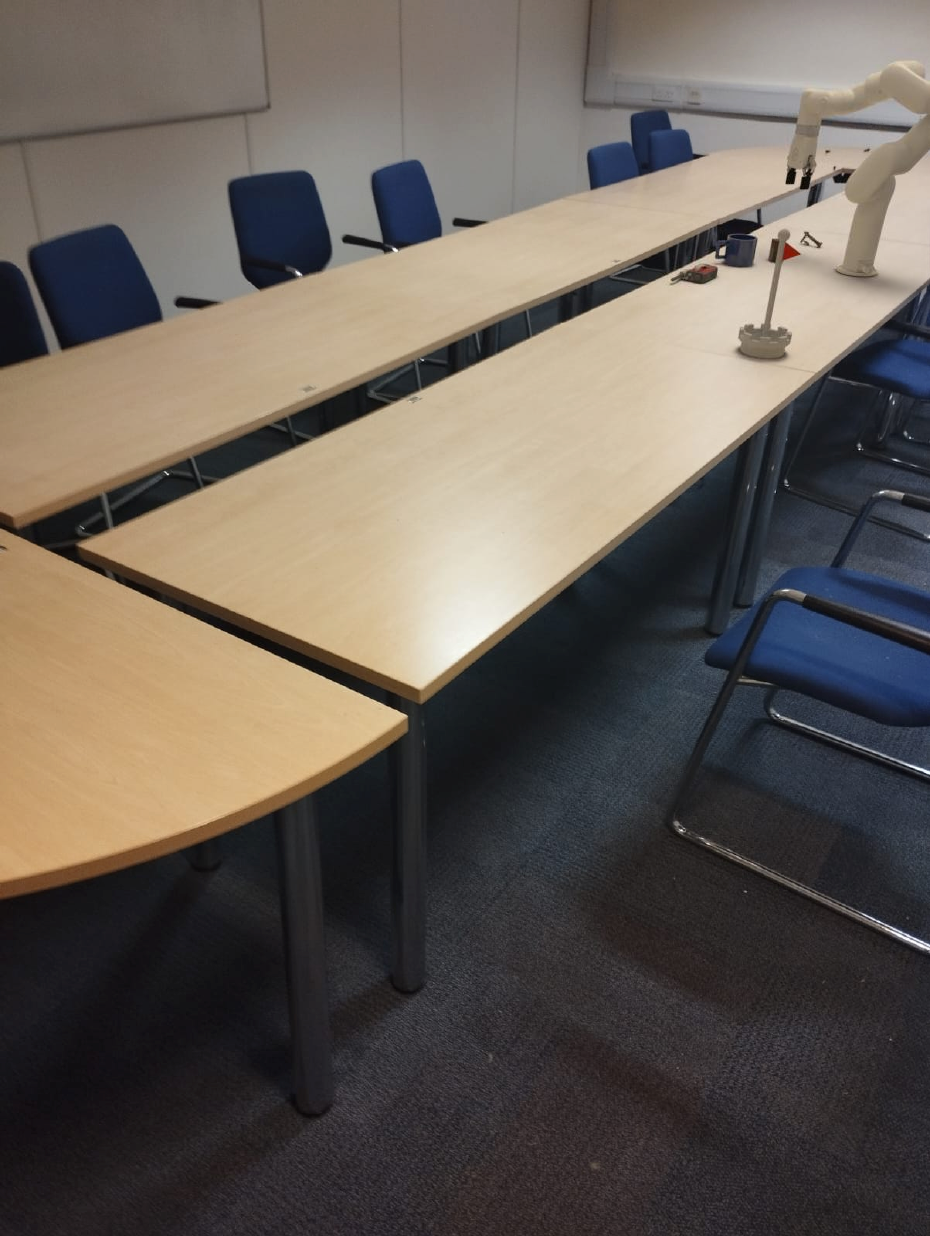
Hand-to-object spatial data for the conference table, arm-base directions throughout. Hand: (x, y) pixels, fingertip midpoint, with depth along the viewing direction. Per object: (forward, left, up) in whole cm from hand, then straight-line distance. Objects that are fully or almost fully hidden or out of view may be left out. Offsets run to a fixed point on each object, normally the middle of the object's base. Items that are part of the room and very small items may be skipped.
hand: (796, 186), depth 330 cm
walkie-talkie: (-33, +43, -22) cm, 59 cm away
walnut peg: (-9, +7, -22) cm, 25 cm away
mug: (-12, +23, -22) cm, 34 cm away
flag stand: (-104, +47, -22) cm, 116 cm away
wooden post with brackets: (+13, -15, -22) cm, 30 cm away
